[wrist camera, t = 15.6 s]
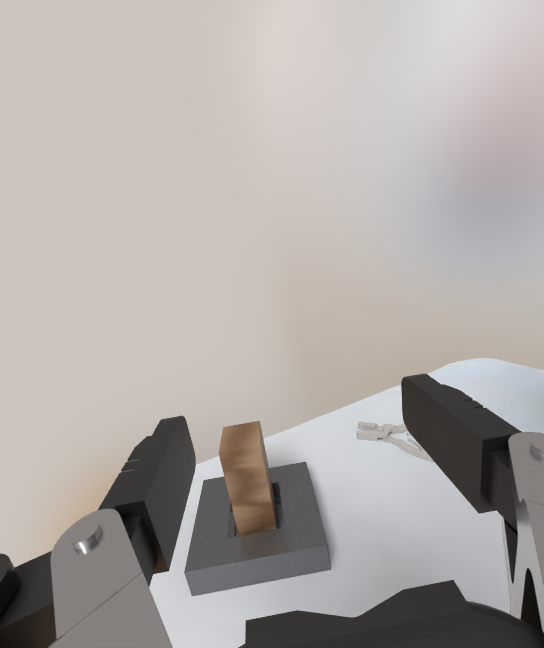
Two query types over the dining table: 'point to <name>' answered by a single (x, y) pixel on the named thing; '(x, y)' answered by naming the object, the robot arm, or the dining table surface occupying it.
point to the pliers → (384, 433)
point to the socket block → (256, 537)
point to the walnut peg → (248, 478)
